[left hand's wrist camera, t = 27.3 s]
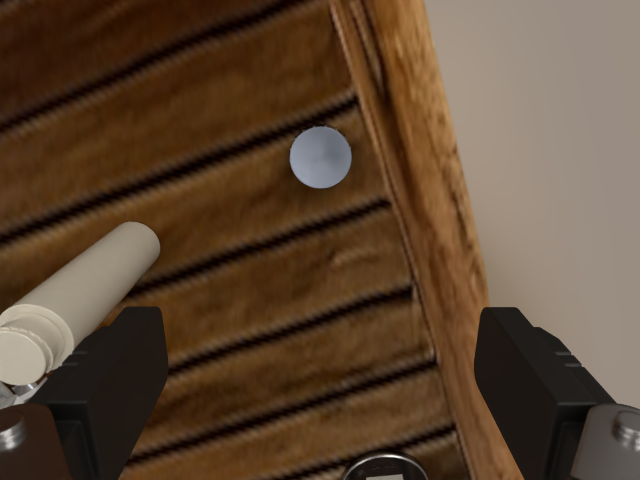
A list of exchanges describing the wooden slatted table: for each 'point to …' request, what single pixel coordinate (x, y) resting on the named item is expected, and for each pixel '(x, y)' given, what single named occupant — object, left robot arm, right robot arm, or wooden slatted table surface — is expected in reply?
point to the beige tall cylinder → (72, 303)
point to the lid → (320, 156)
